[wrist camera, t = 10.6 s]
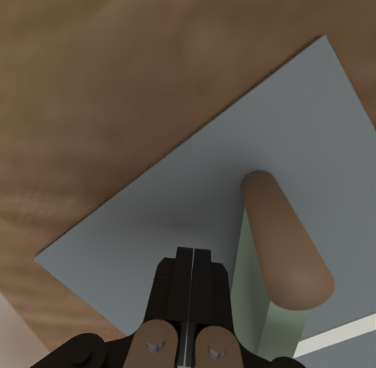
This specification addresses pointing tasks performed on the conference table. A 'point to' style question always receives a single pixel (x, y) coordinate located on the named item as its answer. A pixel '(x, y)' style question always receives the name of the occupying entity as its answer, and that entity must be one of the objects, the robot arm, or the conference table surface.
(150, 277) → the card
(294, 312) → the fence panel
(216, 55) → the conference table surface
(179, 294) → the robot arm
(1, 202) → the conference table surface
